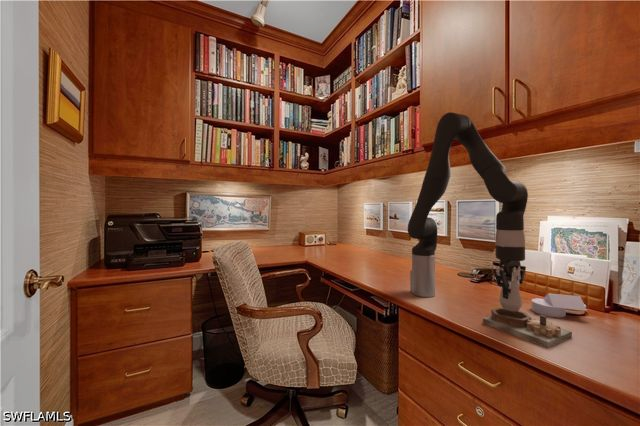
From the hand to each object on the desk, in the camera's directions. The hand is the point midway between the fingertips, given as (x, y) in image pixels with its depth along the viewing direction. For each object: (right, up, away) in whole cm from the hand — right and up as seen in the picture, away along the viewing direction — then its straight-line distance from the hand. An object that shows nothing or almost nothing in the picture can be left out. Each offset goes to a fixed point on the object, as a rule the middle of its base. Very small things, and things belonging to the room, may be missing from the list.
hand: (510, 298), depth 81 cm
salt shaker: (0, -3, 0) cm, 3 cm away
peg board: (+2, -8, -3) cm, 9 cm away
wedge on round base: (+22, -8, +9) cm, 25 cm away
